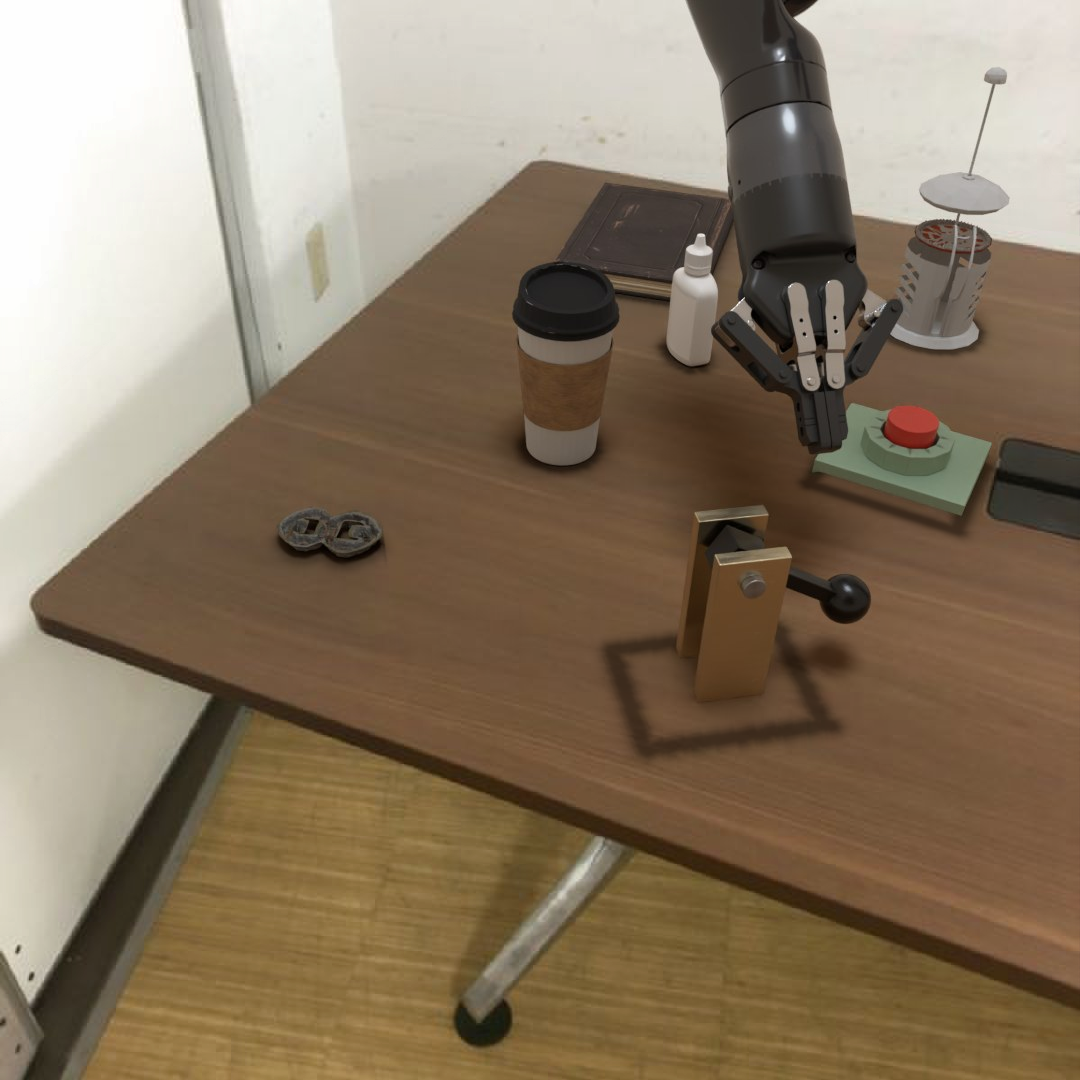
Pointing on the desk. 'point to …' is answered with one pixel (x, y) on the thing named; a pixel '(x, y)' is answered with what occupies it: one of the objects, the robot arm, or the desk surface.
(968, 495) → the control block
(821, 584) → the black lever handle
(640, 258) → the hardcover book
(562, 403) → the coffee cup
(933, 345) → the french press
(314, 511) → the corroded twin loop
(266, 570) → the desk surface
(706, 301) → the eye dropper bottle
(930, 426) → the button
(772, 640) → the wooden lever mount
